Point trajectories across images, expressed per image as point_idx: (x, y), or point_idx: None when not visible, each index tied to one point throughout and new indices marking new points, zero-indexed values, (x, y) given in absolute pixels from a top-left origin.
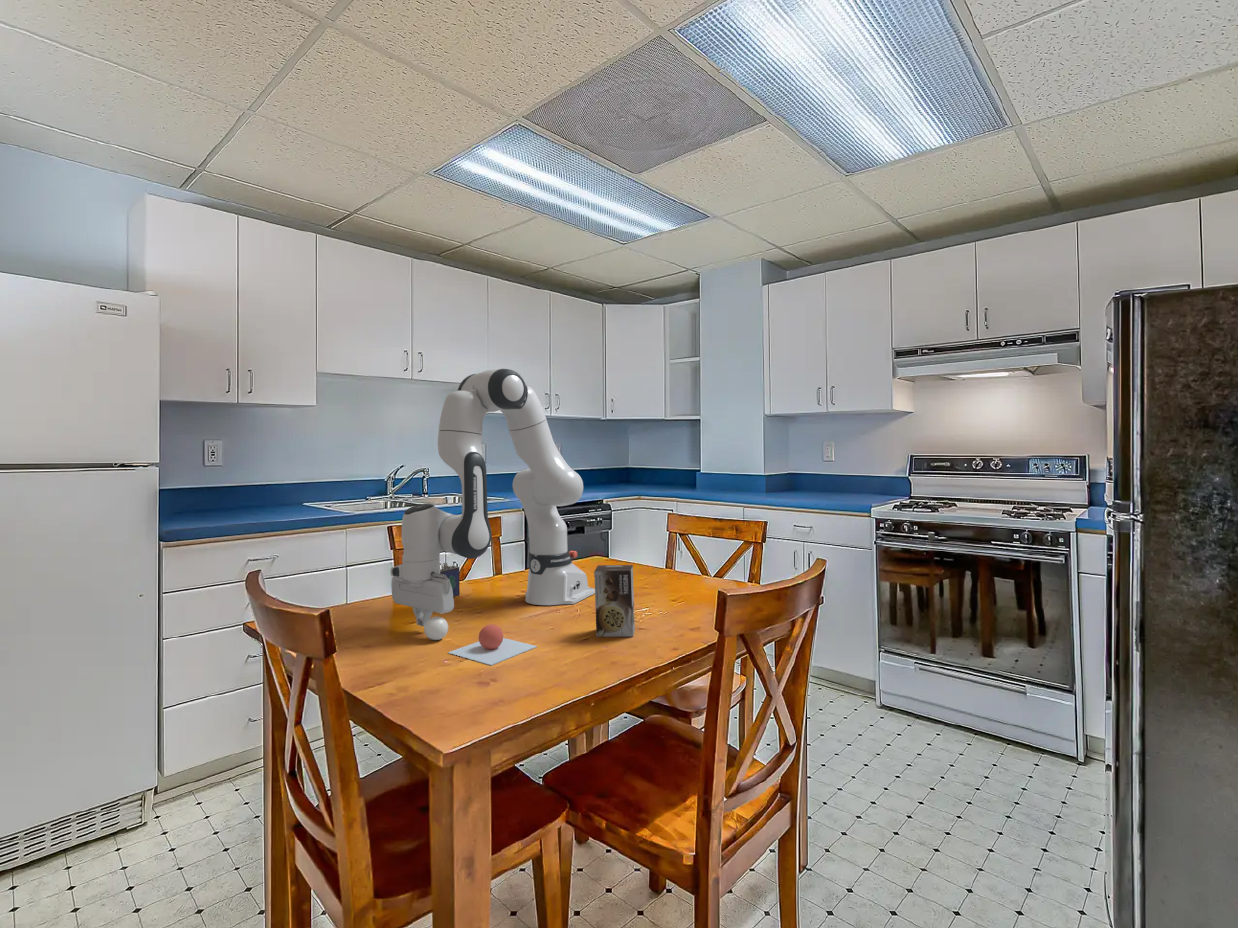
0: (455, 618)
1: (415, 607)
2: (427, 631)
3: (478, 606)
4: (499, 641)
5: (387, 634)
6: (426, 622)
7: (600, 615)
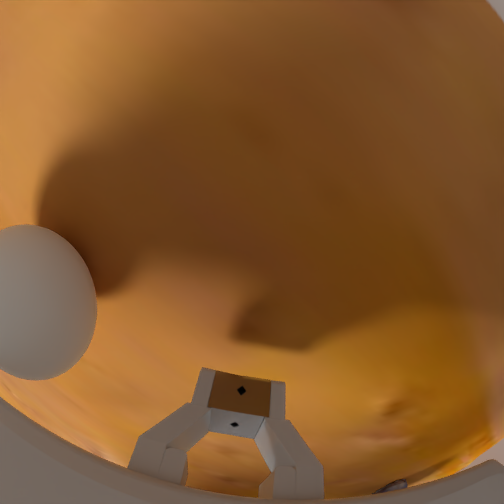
0: (253, 459)
1: (256, 500)
2: (7, 230)
3: None
4: None
5: (442, 245)
6: (6, 296)
7: None
